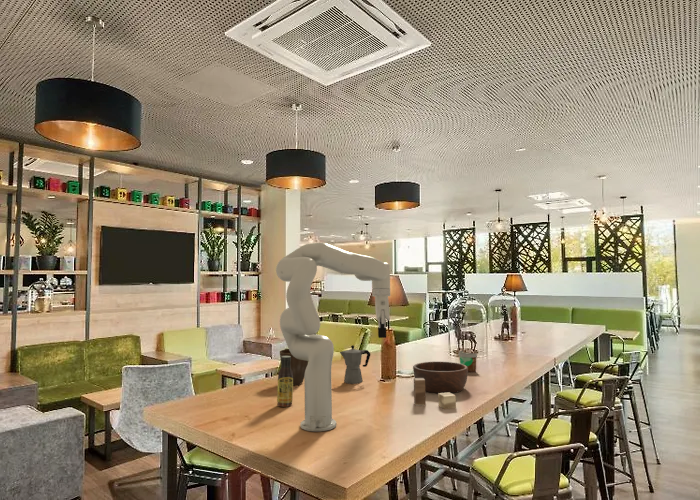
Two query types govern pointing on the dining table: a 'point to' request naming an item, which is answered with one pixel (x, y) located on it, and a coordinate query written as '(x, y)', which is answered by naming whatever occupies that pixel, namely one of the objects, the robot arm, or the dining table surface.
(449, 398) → the maple cube
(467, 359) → the food container
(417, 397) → the walnut block
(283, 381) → the sauce bottle
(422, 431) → the dining table surface
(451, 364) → the wooden bowl
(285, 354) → the brown wooden cup
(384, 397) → the dining table surface
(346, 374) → the coffeepot
